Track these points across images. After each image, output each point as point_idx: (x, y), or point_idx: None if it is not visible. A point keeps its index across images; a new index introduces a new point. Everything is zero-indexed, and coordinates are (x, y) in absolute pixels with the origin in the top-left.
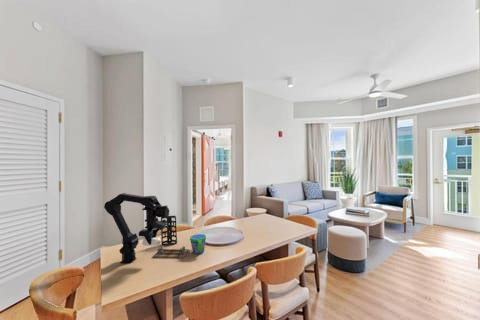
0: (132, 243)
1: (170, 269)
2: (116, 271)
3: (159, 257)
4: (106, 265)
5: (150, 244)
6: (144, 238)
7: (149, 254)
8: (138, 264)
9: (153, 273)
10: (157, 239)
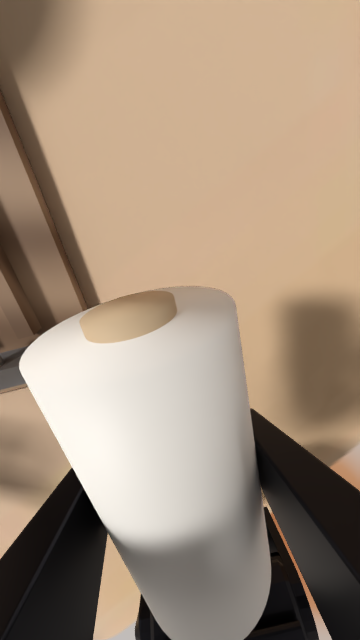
0: (281, 607)
1: (261, 7)
2: (324, 423)
3: (85, 307)
4: (268, 509)
5: (254, 410)
6: (243, 634)
7: None
8: None
9: (343, 155)
10: (212, 356)
